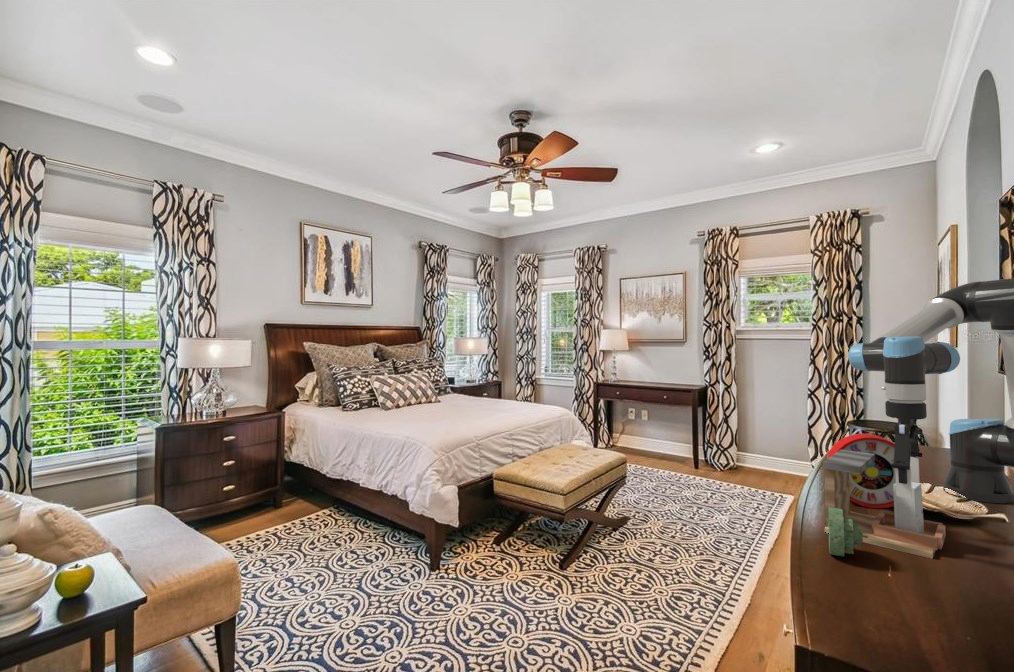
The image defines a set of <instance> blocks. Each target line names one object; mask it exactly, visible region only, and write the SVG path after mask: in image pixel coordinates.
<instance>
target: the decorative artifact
mask: <svg viewBox="0 0 1014 672" xmlns="http://www.w3.org/2000/svg"><path fill="white" fill-rule="evenodd" d="M828 524H829V534H828V550H829V555H831V556H837V557H842V558H843V557H844V558H845V554H849V555H854V548H859V544H860V543H861V544H863V543H864V542H863V537H864V538H868V536H865V535H863V531H862V530H858V524H857V523H853V520H852V519H849V518H843V509H837V508H831V507H828Z"/></svg>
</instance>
